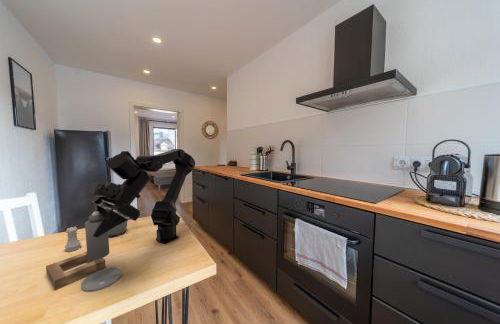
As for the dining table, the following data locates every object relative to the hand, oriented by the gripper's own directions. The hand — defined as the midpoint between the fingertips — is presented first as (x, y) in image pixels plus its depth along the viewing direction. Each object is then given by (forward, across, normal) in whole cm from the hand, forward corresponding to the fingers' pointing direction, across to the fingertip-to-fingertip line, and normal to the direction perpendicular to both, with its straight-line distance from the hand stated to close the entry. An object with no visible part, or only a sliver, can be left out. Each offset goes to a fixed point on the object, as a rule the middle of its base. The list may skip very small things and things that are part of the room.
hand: (91, 234), depth 51 cm
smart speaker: (-2, -30, +22) cm, 37 cm away
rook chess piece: (+8, -28, +12) cm, 31 cm away
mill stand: (+10, -10, +9) cm, 17 cm away
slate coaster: (+8, +1, +11) cm, 14 cm away
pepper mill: (+4, 0, +6) cm, 7 cm away
